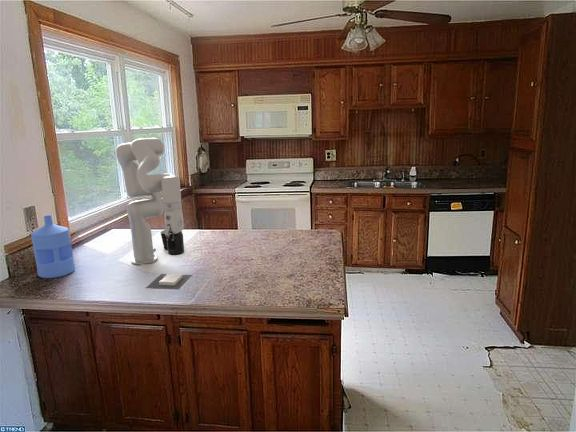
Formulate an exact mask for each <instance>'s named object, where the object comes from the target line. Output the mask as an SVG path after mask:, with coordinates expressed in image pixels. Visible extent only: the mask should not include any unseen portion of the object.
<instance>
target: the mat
mask: <svg viewBox="0 0 576 432" xmlns="http://www.w3.org/2000/svg"><path fill="white" fill-rule="evenodd" d="M167 274H168V273H160V274H159V275H158V276H157V277H156V278H155V279H154V280H153V281H152V282H150V283H149V284H148V285H147V286H146V287H145V289H150V290H151V289H154V290H155V289H156V290H158V289H159V290H180V288H181V287H182V286H183V285H185V284H186V283H187V281H188V280H189V279H190V278H191V277H192V275H193V274H183V278H182V279H181V280H180V281H179V282H178V283H177V284H176V285H175V286H173V285H159V281H161V280H162V279H163V278H164V277H165V276H166V275H167Z"/></svg>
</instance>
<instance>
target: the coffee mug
mask: <svg viewBox="0 0 576 432" xmlns="http://www.w3.org/2000/svg"><path fill="white" fill-rule="evenodd" d="M160 236H161V241H162V245H163V249H164V251H168V248H167V238H166V236H165V229H163V230H161V231H160Z"/></svg>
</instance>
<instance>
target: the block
mask: <svg viewBox="0 0 576 432" xmlns="http://www.w3.org/2000/svg"><path fill="white" fill-rule="evenodd" d="M166 274H167V275H166V276H165V277H164V278H163V279H162V280H161V281H159V285H173V286H175V285H176V284H177V283H178V282H179V281H180V280H181V279H182V278H183V275H184V274H183V273H166Z"/></svg>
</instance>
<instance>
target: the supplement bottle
mask: <svg viewBox="0 0 576 432" xmlns="http://www.w3.org/2000/svg"><path fill="white" fill-rule="evenodd" d="M170 233H173V232H170ZM170 236H172V235H170ZM174 240H175V243H176V249H175V250H173V249H168V250H167V255H169V256H180V255H183V254H184V253H185V246H184V245H185V244H184V243H185V242H184V233H183V231H182V232H179V233H177V234H175V237H174ZM167 248H168V242H167Z"/></svg>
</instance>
